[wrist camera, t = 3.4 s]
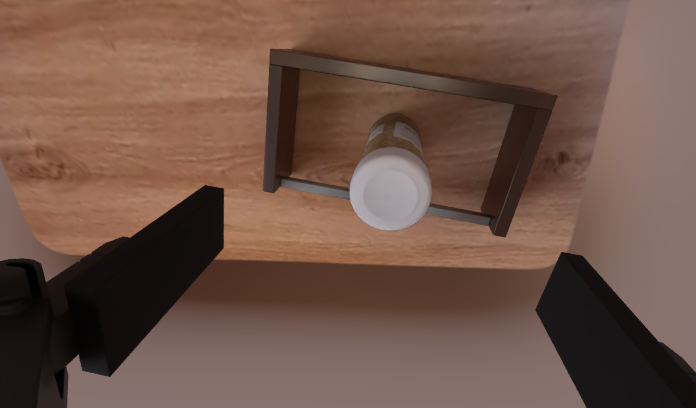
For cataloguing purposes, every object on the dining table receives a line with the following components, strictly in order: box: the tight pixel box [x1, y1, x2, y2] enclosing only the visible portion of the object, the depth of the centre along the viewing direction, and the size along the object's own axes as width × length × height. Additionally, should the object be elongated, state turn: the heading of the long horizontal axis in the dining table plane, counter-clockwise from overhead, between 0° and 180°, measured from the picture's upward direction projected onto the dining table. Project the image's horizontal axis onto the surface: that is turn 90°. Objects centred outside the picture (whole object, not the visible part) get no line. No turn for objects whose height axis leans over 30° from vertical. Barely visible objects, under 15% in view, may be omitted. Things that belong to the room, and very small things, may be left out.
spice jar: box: [350, 115, 432, 231], centre depth 26 cm, size 5×5×13 cm
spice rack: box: [263, 49, 557, 237], centre depth 29 cm, size 20×11×5 cm, turn 82°
